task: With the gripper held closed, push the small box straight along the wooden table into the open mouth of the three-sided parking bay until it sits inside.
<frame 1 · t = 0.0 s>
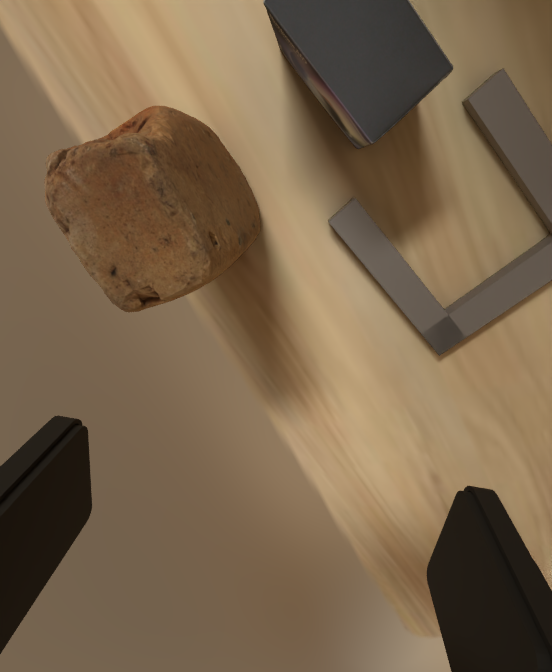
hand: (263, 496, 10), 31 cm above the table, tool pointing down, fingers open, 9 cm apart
small box: (346, 73, 33), on the table
parking bay: (452, 215, 36), on the table
block: (211, 193, 38), on the table
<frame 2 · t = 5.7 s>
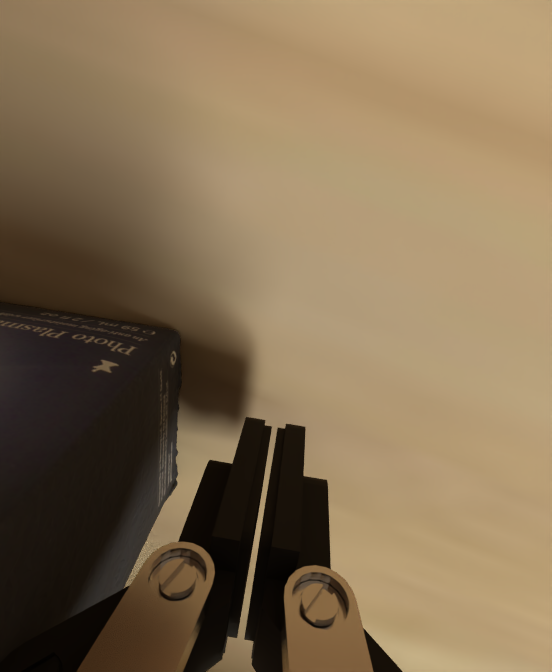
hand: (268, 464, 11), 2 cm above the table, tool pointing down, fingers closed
small box: (34, 380, 14), on the table, touching gripper
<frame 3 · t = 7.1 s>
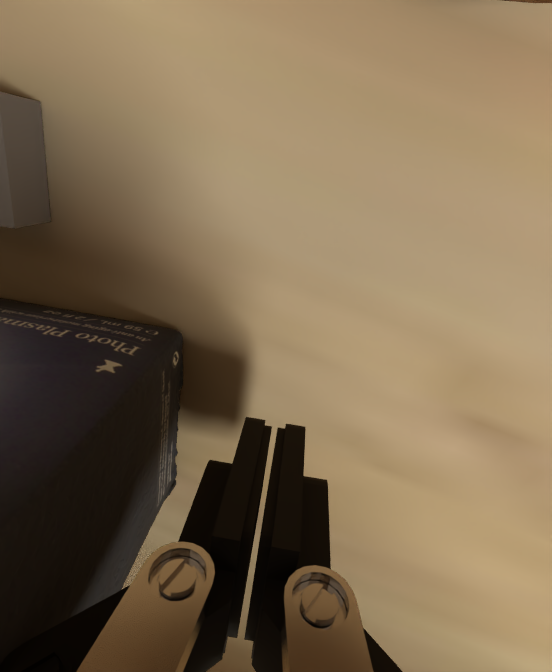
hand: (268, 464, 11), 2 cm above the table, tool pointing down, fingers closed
small box: (34, 377, 14), on the table, touching gripper
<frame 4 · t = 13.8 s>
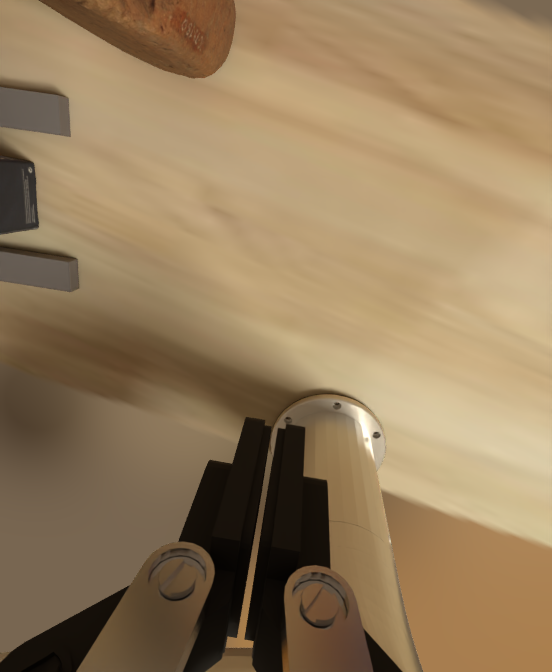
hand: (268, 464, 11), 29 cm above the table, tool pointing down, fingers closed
parking bay: (2, 190, 38), on the table
block: (174, 21, 32), on the table
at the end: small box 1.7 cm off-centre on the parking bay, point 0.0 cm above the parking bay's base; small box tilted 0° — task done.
